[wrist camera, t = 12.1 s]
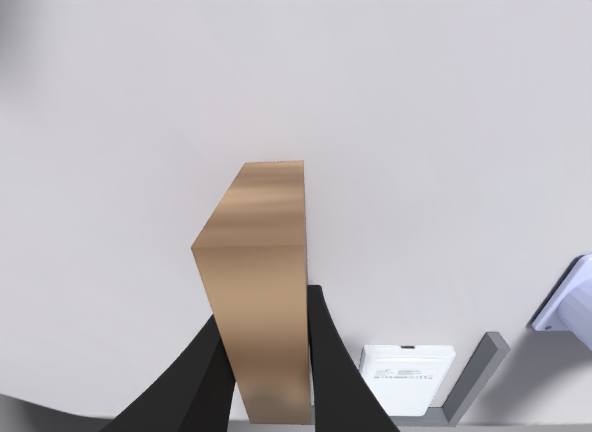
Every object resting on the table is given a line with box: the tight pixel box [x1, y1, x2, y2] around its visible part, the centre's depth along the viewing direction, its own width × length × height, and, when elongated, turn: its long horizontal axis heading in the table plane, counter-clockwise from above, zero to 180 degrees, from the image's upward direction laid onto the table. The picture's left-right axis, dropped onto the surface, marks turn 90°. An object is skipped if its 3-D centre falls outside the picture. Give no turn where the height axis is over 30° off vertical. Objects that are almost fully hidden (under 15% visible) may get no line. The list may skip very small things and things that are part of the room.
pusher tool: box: [191, 161, 311, 425], centre depth 12 cm, size 11×3×7 cm, turn 3°
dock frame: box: [301, 332, 511, 427], centre depth 25 cm, size 18×16×2 cm
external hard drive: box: [359, 345, 456, 416], centre depth 26 cm, size 2×8×12 cm
